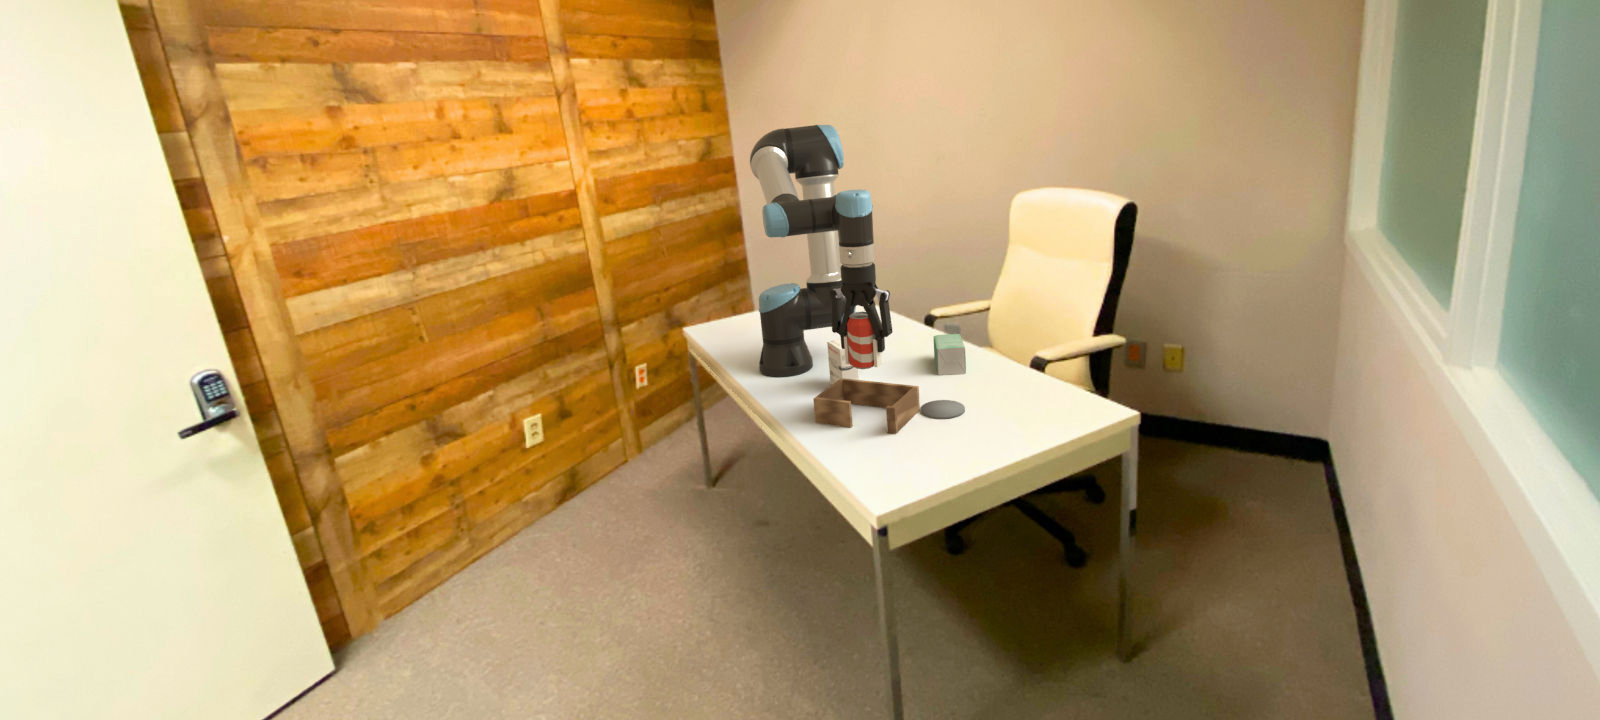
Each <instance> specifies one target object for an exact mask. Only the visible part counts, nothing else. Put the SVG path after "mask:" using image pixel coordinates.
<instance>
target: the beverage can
mask: <svg viewBox="0 0 1600 720" xmlns="http://www.w3.org/2000/svg"><path fill="white" fill-rule="evenodd" d="M849 317H850V318H849V320H848V322H847V330H848V344H849V359H850V365H852V366H853V367H855V368H857V369H858V370H868V369H872V368H873V367H874V354H873V339H874V338H875V337H876V336H875V334H874V331H873V328H872V326H871V323H870V320H869V318H868V315H867V312H866V311H855V313H852V314H851V315H849ZM874 368H875V367H874Z"/></svg>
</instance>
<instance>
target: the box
mask: <svg viewBox="0 0 1600 720" xmlns="http://www.w3.org/2000/svg"><path fill="white" fill-rule="evenodd" d="M933 351H934V352H933V356H934V357H933V358H934V364H935V367H936V371H937V374H938V375H939V376H954V375H955V376H957V375H958V376H959V375H965V374H967V365H966V364H967V363H966V359H967V358H966V347H965V344H964V341H963V338H962V336H961V334H960V333H947V334H936V335H934V336H933Z"/></svg>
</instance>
